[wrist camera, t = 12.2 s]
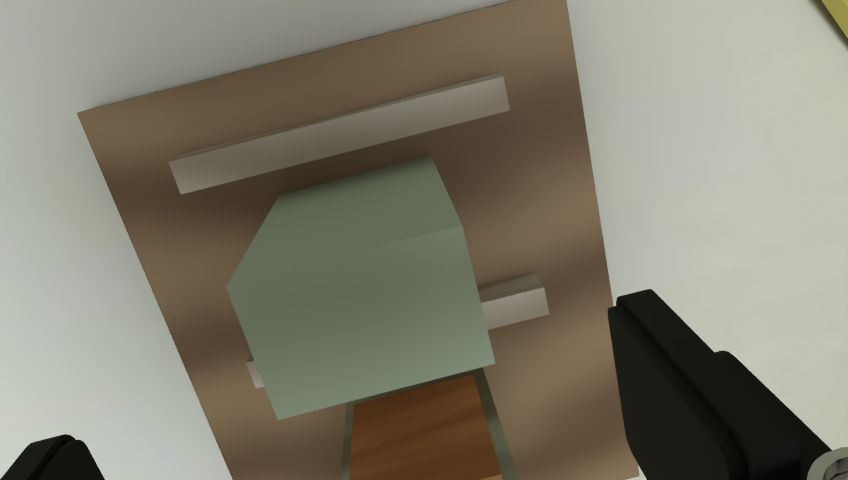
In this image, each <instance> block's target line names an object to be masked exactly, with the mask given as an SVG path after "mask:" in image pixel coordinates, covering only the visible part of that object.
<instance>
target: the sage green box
mask: <svg viewBox="0 0 848 480" xmlns="http://www.w3.org/2000/svg"><path fill="white" fill-rule="evenodd" d="M226 289H227V292H228V294H229V297H230V299H231V302H232V304H233V307H234V309H235V312H236V315H237V317H238V320H239V322H240V325H241V327H242V330H243V333H244V335H245V338H246V340H247V343H248V345H249V348H250V350H251V353H252V356H253V358H254V361H255V363H256V366H257V368H258V371H259V374H260V376H261V379H262V381H263V384H264V386H265V389H266V392H267V394H268V397H269V399H270V402H271V404H272V407H273V409H274V412H275V415H276V417H277V420H281V419H284V418H288V417H292V416H296V415H300V414H304V413H307V412H311V411H315V410H319V409H323V408H327V407H331V406H334V405H338V404H342V403H346V402H350V401H354V400H358V399H361V398H365V397H369V396H373V395H377V394H381V393H384V392H388V391H392V390H396V389H400V388H404V387H408V386H411V385H415V384H419V383H423V382H427V381H431V380H434V379H438V378H442V377H446V376H450V375H454V374H458V373H461V372H465V371H469V370H473V369H477V368H481V367H485V366H488V365H492V364H496V363H495V359H494V355H493V351H492V347H491V343H490V339H489V334H488V330H487V326H486V322H485V318H484V314H483V310H482V305H481V301H480V297H479V293H478V289H477V285H476V281H475V276H474V272H473V268H472V264H471V260H470V256H469V252H468V247H467V243H466V239H465V235H464V231H463V227H462V224H461V221H460V219H459V217H458V215H457V213H456V210H455V208H454V206H453V204H452V201H451V199H450V197H449V195H448V192H447V190H446V188H445V186H444V184H443V181H442V179H441V177H440V175H439V172H438V170H437V168H436V166H435V163H434V161H433V159H432V157H431V155H430V156H426V157H423V158H419V159H415V160H411V161H407V162H404V163H400V164H396V165H392V166H388V167H385V168H381V169H377V170H373V171H369V172H366V173H362V174H358V175H354V176H350V177H347V178H343V179H339V180H335V181H331V182H328V183H324V184H320V185H316V186H312V187H309V188H305V189H301V190H297V191H293V192H290V193H286V194H282V195H279V196H278V198H277V200H276V202H275V203H274V205H273V207H272V208H271V210H270V212H269V214H268V215H267V217H266V219H265V220H264V222H263V224H262V226H261V227H260V229H259V231H258V232H257V234H256V236H255V238H254V239H253V241H252V243H251V244H250V246H249V248H248V250H247V251H246V253H245V255H244V256H243V258H242V260H241V262H240V263H239V265H238V267H237V268H236V270H235V272H234V274H233V275H232V277H231V279H230V280H229V282H228V284H227V286H226Z"/></svg>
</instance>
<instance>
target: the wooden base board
mask: <svg viewBox="0 0 848 480" xmlns="http://www.w3.org/2000/svg"><path fill="white" fill-rule="evenodd" d="M77 115H78V117H79V119H80V122H81V124H82V126H83V129H84V131H85V133H86V136H87V138H88V140H89V143H90V145H91V147H92V150H93V152H94V154H95V157H96V159H97V162H98V164H99V166H100V169H101V171H102V173H103V176H104V178H105V180H106V183H107V185H108V187H109V190H110V192H111V194H112V197H113V199H114V201H115V204H116V206H117V209H118V211H119V213H120V216H121V218H122V220H123V223H124V225H125V227H126V230H127V232H128V234H129V237H130V239H131V241H132V244H133V246H134V248H135V251H136V253H137V256H138V258H139V260H140V263H141V265H142V267H143V270H144V272H145V274H146V277H147V279H148V281H149V284H150V286H151V288H152V291H153V293H154V295H155V298H156V300H157V303H158V305H159V307H160V310H161V312H162V314H163V317H164V319H165V321H166V324H167V326H168V328H169V331H170V333H171V335H172V338H173V340H174V343H175V345H176V347H177V350H178V352H179V354H180V357H181V359H182V361H183V364H184V366H185V368H186V371H187V373H188V375H189V378H190V380H191V382H192V385H193V387H194V390H195V392H196V394H197V397H198V399H199V401H200V404H201V406H202V408H203V411H204V413H205V415H206V418H207V420H208V422H209V425H210V427H211V429H212V432H213V434H214V437H215V439H216V441H217V444H218V446H219V448H220V451H221V453H222V455H223V458H224V460H225V462H226V465H227V467H228V469H229V472H230V474H231V476H232V479H233V480H626V479H630V478H634V477H638V476H639V470H638V463H637V461H636V460H635V458H634V456H633V454H632V452H631V450H630V448H629V445H628V442H627V438H626V434H625V428H624V422H623V415H622V408H621V402H620V395H619V388H618V382H617V375H616V368H615V362H614V355H613V348H612V342H611V335H610V328H609V322H608V313H607V312H608V308H610V307H613V301H612V294H611V288H610V282H609V275H608V269H607V262H606V256H605V249H604V243H603V236H602V230H601V223H600V217H599V210H598V204H597V197H596V191H595V184H594V178H593V171H592V165H591V158H590V152H589V145H588V139H587V132H586V126H585V119H584V113H583V106H582V100H581V93H580V87H579V80H578V74H577V67H576V61H575V54H574V48H573V41H572V35H571V28H570V22H569V15H568V9H567V2H566V0H514V1H510V2H506V3H502V4H498V5H494V6H491V7H487V8H483V9H479V10H475V11H471V12H467V13H463V14H459V15H456V16H452V17H448V18H444V19H440V20H436V21H432V22H428V23H424V24H421V25H417V26H413V27H409V28H405V29H401V30H397V31H393V32H389V33H385V34H382V35H378V36H374V37H370V38H366V39H362V40H358V41H354V42H350V43H347V44H343V45H339V46H335V47H331V48H327V49H323V50H319V51H315V52H312V53H308V54H304V55H300V56H296V57H292V58H288V59H284V60H280V61H276V62H273V63H269V64H265V65H261V66H257V67H253V68H249V69H245V70H241V71H238V72H234V73H230V74H226V75H222V76H218V77H214V78H210V79H206V80H203V81H199V82H195V83H191V84H187V85H183V86H179V87H175V88H171V89H168V90H164V91H160V92H156V93H152V94H148V95H144V96H140V97H136V98H132V99H129V100H125V101H121V102H117V103H113V104H109V105H105V106H101V107H97V108H94V109H90V110H86V111H83V112H79V113H77ZM430 155H431V157H432V159H433V161H434V163H435V166H436V168H437V170H438V172H439V175H440V177H441V179H442V181H443V184H444V186H445V188H446V190H447V192H448V195H449V197H450V199H451V201H452V204H453V206H454V208H455V210H456V213H457V215H458V217H459V219H460V221H461V224H462V227H463V231H464V235H465V239H466V243H467V247H468V252H469V256H470V260H471V264H472V268H473V272H474V276H475V281H476V285H477V289H478V293H479V297H480V301H481V305H482V310H483V314H484V318H485V322H486V326H487V330H488V334H489V339H490V343H491V347H492V351H493V355H494V359H495V363H496V364H492V365H488V366H485V367H481V368H477V369H473V370H469V371H465V372H461V373H458V374H454V375H450V376H446V377H442V378H438V379H434V380H431V381H427V382H423V383H419V384H415V385H411V386H408V387H404V388H400V389H396V390H392V391H388V392H384V393H381V394H377V395H373V396H369V397H365V398H361V399H358V400H354V401H350V402H346V403H342V404H338V405H334V406H331V407H327V408H323V409H319V410H315V411H311V412H307V413H304V414H300V415H296V416H292V417H288V418H284V419H281V420H277V417H276V415H275V412H274V409H273V407H272V404H271V402H270V399H269V397H268V394H267V392H266V389H265V386H264V384H263V381H262V379H261V376H260V374H259V371H258V368H257V366H256V363H255V361H254V358H253V356H252V353H251V350H250V348H249V345H248V343H247V340H246V338H245V335H244V333H243V330H242V327H241V325H240V322H239V320H238V317H237V315H236V312H235V309H234V307H233V304H232V302H231V299H230V297H229V294H228V292H227V289H226V286H227V284H228V282H229V280H230V279H231V277H232V275H233V274H234V272H235V270H236V268H237V267H238V265H239V263H240V262H241V260H242V258H243V256H244V255H245V253H246V251H247V250H248V248H249V246H250V244H251V243H252V241H253V239H254V238H255V236H256V234H257V232H258V231H259V229H260V227H261V226H262V224H263V222H264V220H265V219H266V217H267V215H268V214H269V212H270V210H271V208H272V207H273V205H274V203H275V202H276V200H277V198H278V196H279V195H282V194H286V193H290V192H293V191H297V190H301V189H305V188H309V187H312V186H316V185H320V184H324V183H328V182H331V181H335V180H339V179H343V178H347V177H350V176H354V175H358V174H362V173H366V172H369V171H373V170H377V169H381V168H385V167H388V166H392V165H396V164H400V163H404V162H407V161H411V160H415V159H419V158H423V157H426V156H430Z"/></svg>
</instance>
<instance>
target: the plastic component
mask: <svg viewBox="0 0 848 480" xmlns="http://www.w3.org/2000/svg"><path fill="white" fill-rule="evenodd" d="M822 2H823V3H824V5H825V6H826V8H827V9H828V11H829V12H830V13H831V15H832V16H833V18H834V19H835V21H836V22H837V24H838V25H839V26H840V28H841V29H842V31H843V32H844V34H845V35H846V37H847V38H848V0H822Z"/></svg>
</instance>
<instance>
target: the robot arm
mask: <svg viewBox="0 0 848 480" xmlns="http://www.w3.org/2000/svg"><path fill="white" fill-rule="evenodd" d="M607 313H608V322H609V328H610V335H611V342H612V348H613V355H614V362H615V368H616V375H617V382H618V388H619V395H620V402H621V408H622V415H623V422H624V428H625V434H626V438H627V442H628V445H629V448H630V450H631V452H632V454H633V456H634V458H635V460H636V461H637V463H638V465H639V467H640V468H641V470H642V472H643V473H644V475H645V477H646V479H647V480H848V447H842V448H839V449H836V450H833V451H832V450H831V449H830V448H829V447H828V446H827V445H826V444H825V443H824V442H823V441H822V440H821V439H820V438H819V437H818V436H817V435H816V434H815V433H813V432H812V431H811V430H810V429H809V428H808V427H807V426H806V425H805V424H804V423H803V422H802V421H801V420H800V419H799V418H798V417H797V416H796V415H795V414H794V413H793V412H792V411H791V410H790V409H789V408H788V407H786V406H785V405H784V404H783V403H782V402H781V401H780V400H779V399H778V398H777V397H776V396H775V395H774V394H773V393H772V392H771V391H770V390H769V389H768V388H767V387H766V386H765V385H764V384H763V383H762V382H761V381H760V380H758V379H757V378H756V377H755V376H754V375H753V374H752V373H751V372H750V371H749V370H748V369H747V368H746V367H745V366H744V365H743V364H742V363H741V362H740V361H739V360H738V359H737V358H736V357H735V356H733V355H732V354H731V353H729V352H727V351H719V352H715V353H714V352H713V351H712V350H711V349H710V348H709V347H708V346H707V345H706V343H705V342H704V341H703V340H702V339H701V338H700V337H699V336H698V335H697V334H696V333H695V332H694V331H693V330H692V329H691V328H690V327H689V326H688V325H687V324H686V323H685V322H684V321H683V320H682V319H681V318H680V317H679V316H678V315H677V314H676V313H675V312H674V311H673V310H672V309H671V308H670V307H669V306H668V305H667V304H666V303H665V302H664V301H663V300H662V299H661V298H660V297H659V296H658V295H657V294H656V293H655V292H654V291H653V290H651V289H648V290H644V291H640V292H635V293H631V294H627V295H623V296H619V297H618V298H617V301H616V306H614V307H610V308H608V312H607ZM0 480H105V479H104V477H103V475H102V474H101V472H100V470H99V468H98V466H97V464H96V462H95V461H94V459H93V457H92V455H91V453H90V451H89V449H88V448H87V446H86V445H85V443H84V442H82V441H81V440H75V438H73V437H72V436H70V435H66V434H65V435H61V436H57V437H53V438H49V439H45V440H41V441H36V442H33V443H31V444H29V445H28V446H27V447H26V448H25V449H24V451H23V452H22V453H21V454H20V456H19V457H18V458H17V459H16V461H15V462H14V463H13V464H12V466H11V467H10V468H9V469H8V471H7V472H6V473H5V474H4V476H3V477H2V478H1V479H0Z"/></svg>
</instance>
